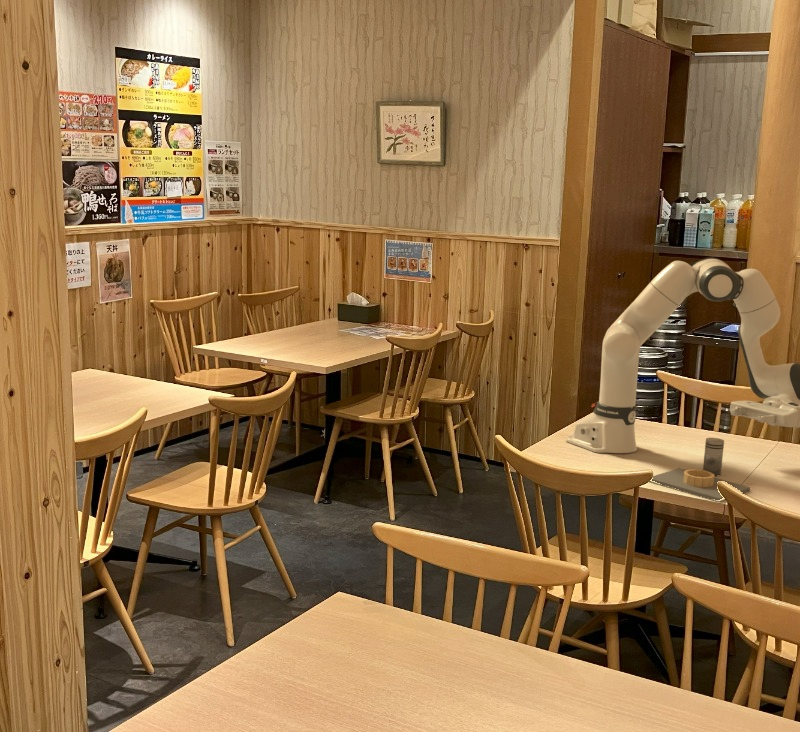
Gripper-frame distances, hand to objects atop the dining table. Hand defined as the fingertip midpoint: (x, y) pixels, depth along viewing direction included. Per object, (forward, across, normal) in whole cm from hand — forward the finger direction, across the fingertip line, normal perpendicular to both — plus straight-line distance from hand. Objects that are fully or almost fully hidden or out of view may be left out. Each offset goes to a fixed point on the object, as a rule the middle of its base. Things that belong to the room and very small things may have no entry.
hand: (746, 416), depth 281 cm
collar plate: (+26, +6, +16) cm, 31 cm away
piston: (+12, 0, +16) cm, 20 cm away
